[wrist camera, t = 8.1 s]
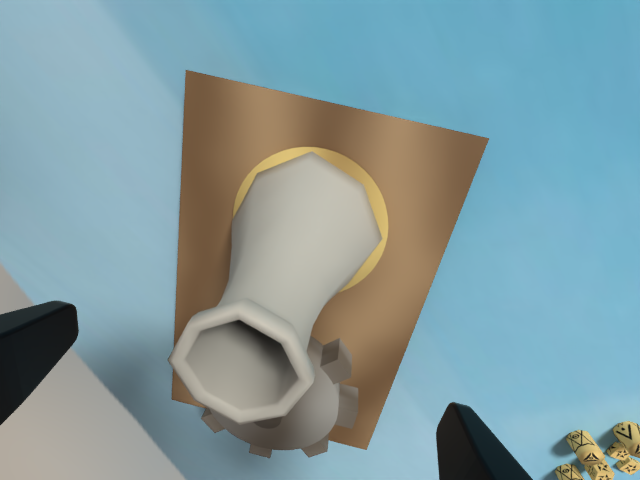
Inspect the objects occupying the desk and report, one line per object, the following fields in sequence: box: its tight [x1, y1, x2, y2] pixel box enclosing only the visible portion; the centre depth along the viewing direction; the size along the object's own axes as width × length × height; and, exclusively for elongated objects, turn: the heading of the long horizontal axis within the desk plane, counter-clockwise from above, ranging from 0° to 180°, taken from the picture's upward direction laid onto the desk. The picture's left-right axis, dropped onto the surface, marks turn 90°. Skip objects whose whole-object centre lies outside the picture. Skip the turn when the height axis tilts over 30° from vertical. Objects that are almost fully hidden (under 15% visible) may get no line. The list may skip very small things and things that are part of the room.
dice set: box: [555, 421, 640, 480], centre depth 21 cm, size 5×5×2 cm
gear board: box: [172, 70, 489, 458], centre depth 18 cm, size 14×22×4 cm, turn 168°
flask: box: [168, 151, 383, 425], centre depth 12 cm, size 7×7×10 cm
